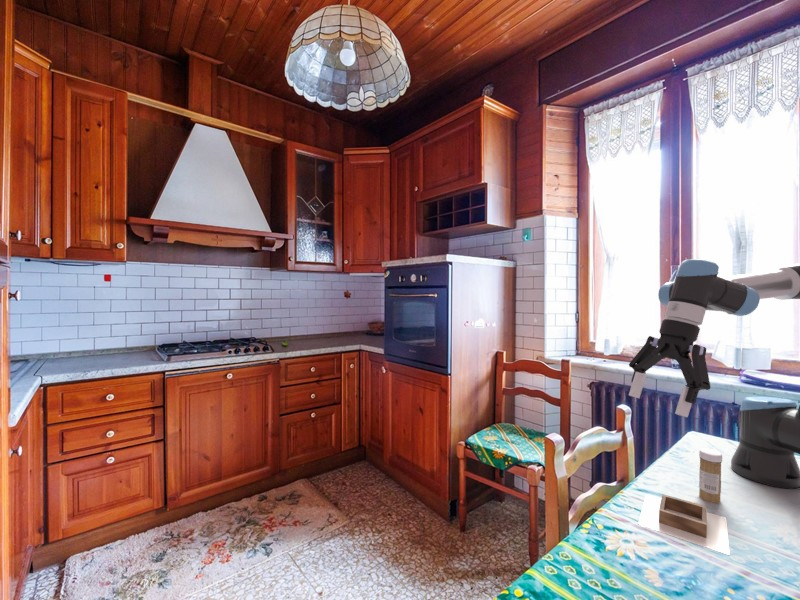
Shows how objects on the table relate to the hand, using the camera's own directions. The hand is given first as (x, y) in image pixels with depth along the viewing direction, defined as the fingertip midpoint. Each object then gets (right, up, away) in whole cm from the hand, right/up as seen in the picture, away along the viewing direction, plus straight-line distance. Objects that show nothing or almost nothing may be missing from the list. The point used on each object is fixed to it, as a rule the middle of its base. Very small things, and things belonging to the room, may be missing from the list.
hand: (655, 405), depth 91 cm
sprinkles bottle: (+18, -27, +6) cm, 33 cm away
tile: (+4, -27, -3) cm, 28 cm away
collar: (+4, -26, -3) cm, 27 cm away
